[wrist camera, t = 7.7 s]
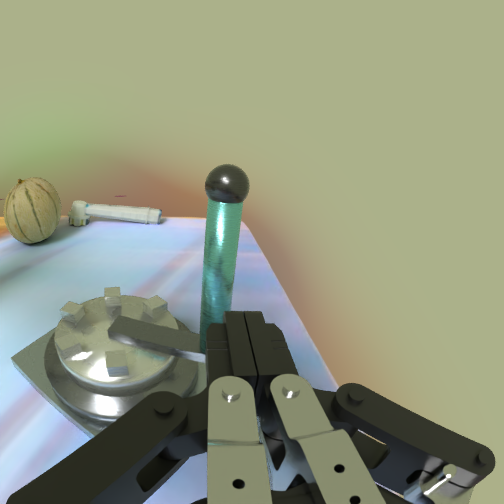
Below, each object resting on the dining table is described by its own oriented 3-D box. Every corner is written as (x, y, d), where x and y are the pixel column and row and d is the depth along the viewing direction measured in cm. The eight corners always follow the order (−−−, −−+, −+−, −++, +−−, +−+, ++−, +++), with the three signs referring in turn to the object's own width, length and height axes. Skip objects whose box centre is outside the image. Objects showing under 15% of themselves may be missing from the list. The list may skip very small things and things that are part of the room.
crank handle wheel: (38, 368, 21) (-7, 168, 14) (97, 303, 33) (88, 147, 26) (213, 429, 21) (236, 182, 13) (236, 334, 32) (259, 159, 25)
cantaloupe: (75, 235, 60) (72, 171, 54) (32, 259, 47) (24, 185, 41) (38, 226, 62) (34, 169, 56) (-2, 246, 48) (-10, 182, 42)
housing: (14, 366, 24) (4, 344, 22) (107, 303, 39) (105, 283, 38) (162, 484, 17) (157, 469, 16) (245, 363, 33) (248, 341, 32)
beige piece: (161, 212, 70) (66, 199, 61) (157, 237, 73) (65, 225, 63) (161, 206, 75) (72, 194, 66) (157, 230, 77) (70, 218, 68)
